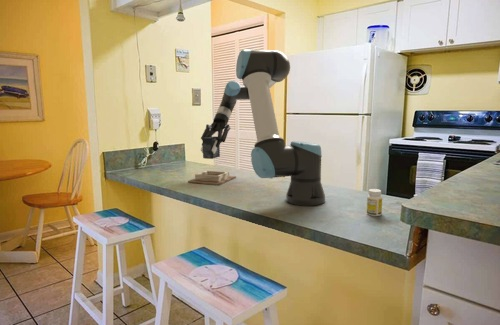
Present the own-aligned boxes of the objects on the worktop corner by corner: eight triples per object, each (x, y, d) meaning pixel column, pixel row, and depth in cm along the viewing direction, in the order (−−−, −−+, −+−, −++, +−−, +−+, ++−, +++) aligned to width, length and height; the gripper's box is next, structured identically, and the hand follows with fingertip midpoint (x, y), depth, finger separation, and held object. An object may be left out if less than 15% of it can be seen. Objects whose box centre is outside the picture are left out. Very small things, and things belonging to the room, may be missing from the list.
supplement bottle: (378, 211, 116) (379, 188, 115) (383, 216, 111) (385, 191, 110) (364, 212, 116) (365, 188, 114) (369, 216, 111) (370, 192, 110)
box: (212, 159, 165) (211, 137, 163) (202, 158, 167) (201, 137, 165) (220, 156, 172) (219, 136, 170) (210, 156, 174) (209, 136, 172)
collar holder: (219, 185, 159) (219, 178, 159) (187, 182, 166) (187, 175, 166) (235, 177, 175) (235, 171, 175) (206, 175, 183) (206, 169, 182)
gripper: (240, 122, 176) (226, 157, 164) (209, 121, 184) (194, 155, 172) (235, 112, 171) (221, 147, 159) (204, 112, 178) (188, 146, 166)
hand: (207, 151), depth 165 cm, fingers closed on box, 6 cm apart
